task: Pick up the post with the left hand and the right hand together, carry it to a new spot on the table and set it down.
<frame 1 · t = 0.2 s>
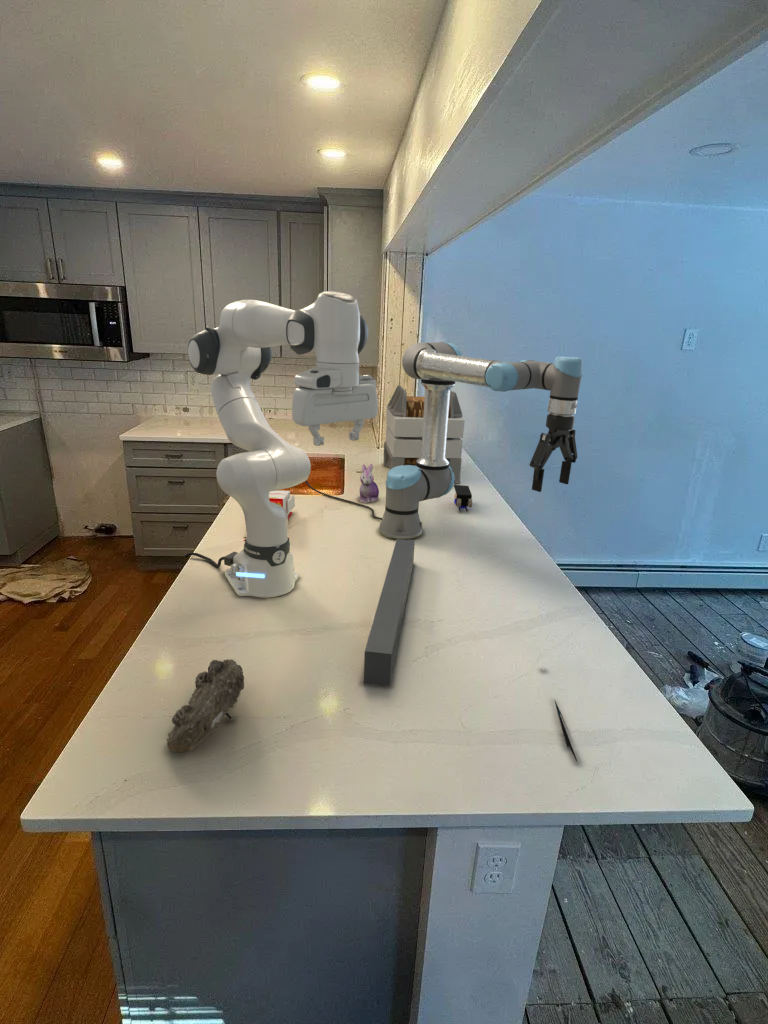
left hand: (336, 442, 121), 47 cm above the counter, tool pointing down, fingers open, 8 cm apart
right hand: (550, 486, 166), 28 cm above the counter, tool pointing down, fingers open, 13 cm apart
figurine character: (461, 507, 230), on the counter
figurine: (368, 500, 233), on the counter
post: (393, 611, 148), on the counter
fossil: (212, 717, 108), on the counter
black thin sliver: (557, 712, 114), on the counter
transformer: (419, 473, 275), on the counter
toy: (275, 523, 204), on the counter
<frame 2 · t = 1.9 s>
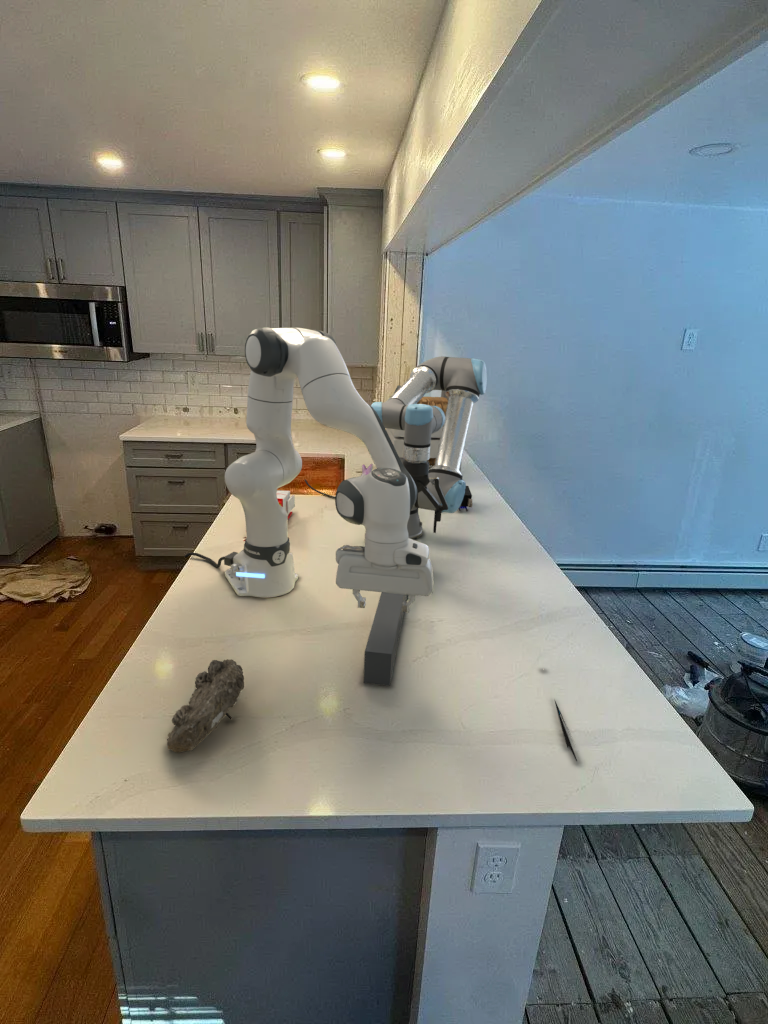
left hand: (383, 608, 120), 15 cm above the counter, tool pointing down, fingers open, 8 cm apart
right hand: (411, 529, 168), 13 cm above the counter, tool pointing down, fingers open, 13 cm apart
nothing on the counter moved.
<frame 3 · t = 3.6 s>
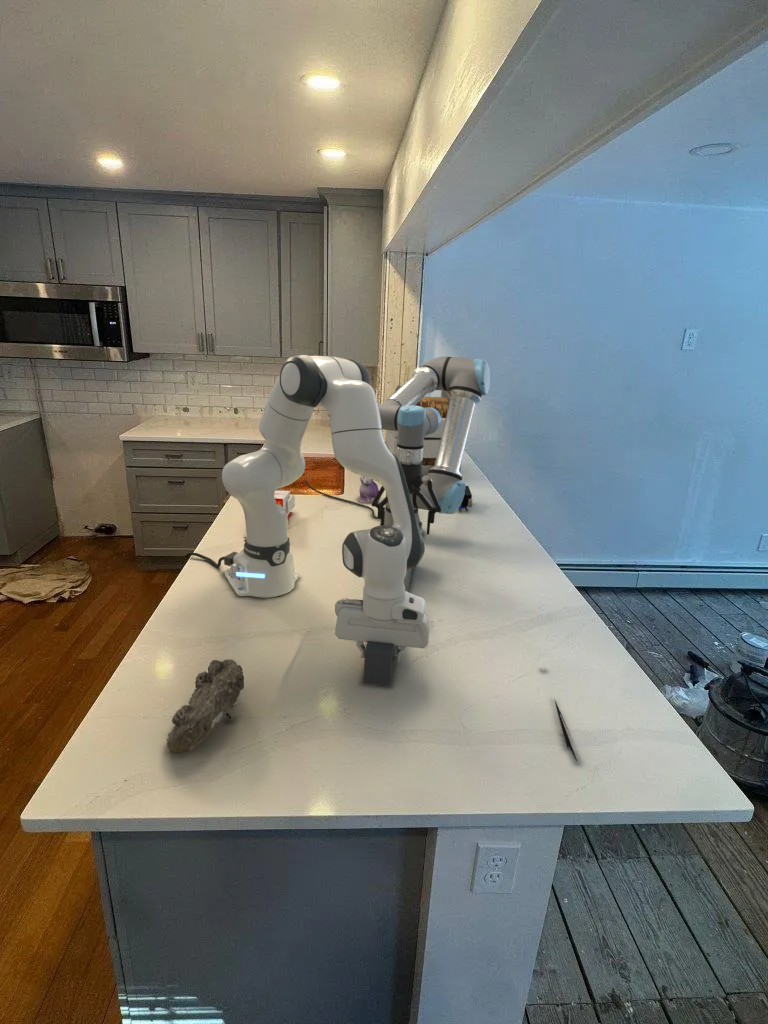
left hand: (380, 658, 124), 3 cm above the counter, tool pointing down, fingers closed on post, 5 cm apart
right hand: (405, 531, 168), 13 cm above the counter, tool pointing down, fingers open, 13 cm apart
post: (393, 611, 148), on the counter, touching left hand
everything else where it was.
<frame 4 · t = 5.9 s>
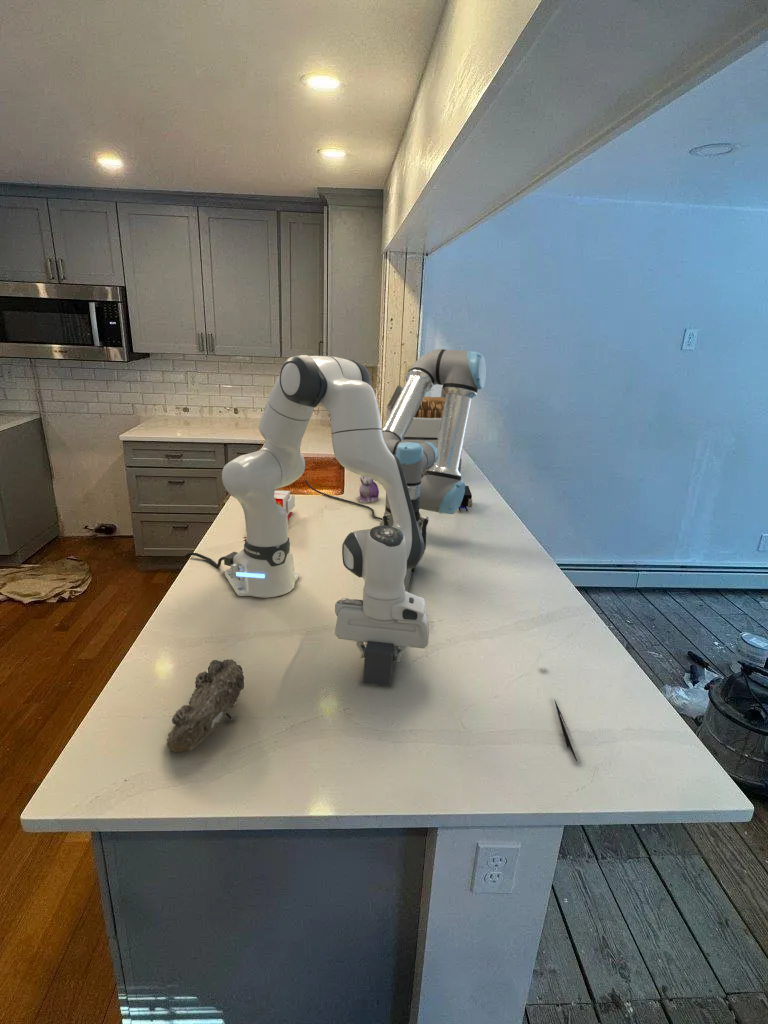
left hand: (380, 658, 124), 3 cm above the counter, tool pointing down, fingers closed on post, 5 cm apart
right hand: (402, 568, 172), 1 cm above the counter, tool pointing down, fingers closed on post, 6 cm apart
post: (393, 611, 148), on the counter, touching right hand, left hand
everything else where it was.
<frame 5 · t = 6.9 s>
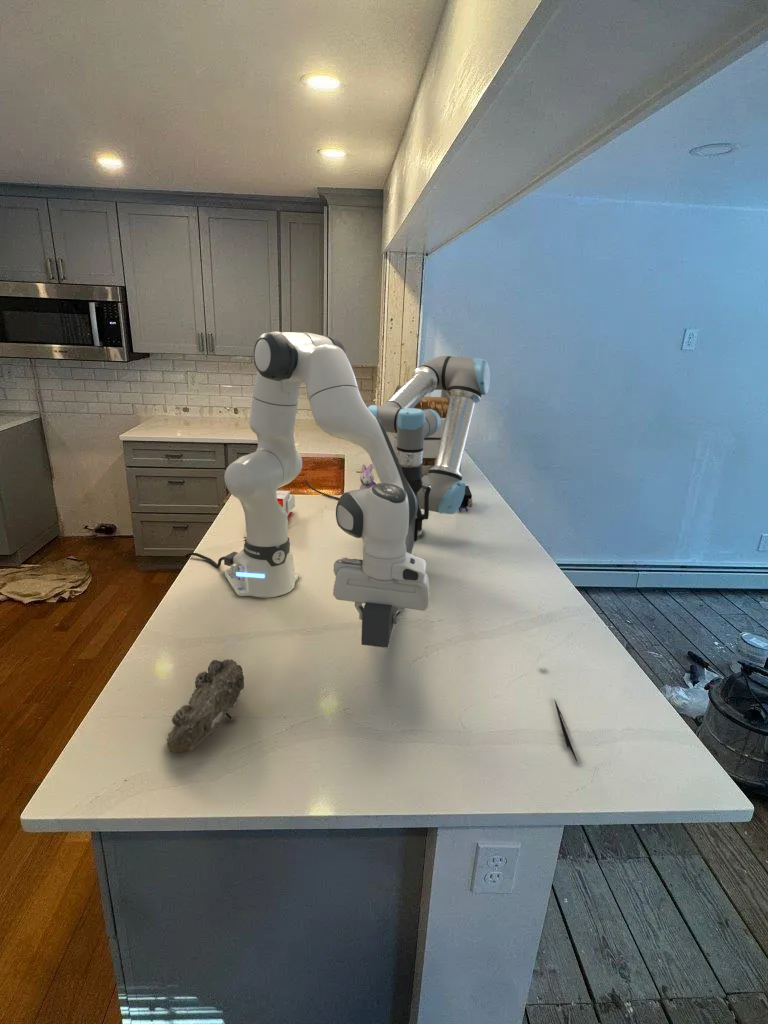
left hand: (379, 620, 121), 12 cm above the counter, tool pointing down, fingers closed on post, 5 cm apart
right hand: (405, 538, 169), 10 cm above the counter, tool pointing down, fingers closed on post, 6 cm apart
post: (394, 579, 146), point 9 cm above the counter, touching right hand, left hand
everything else where it was.
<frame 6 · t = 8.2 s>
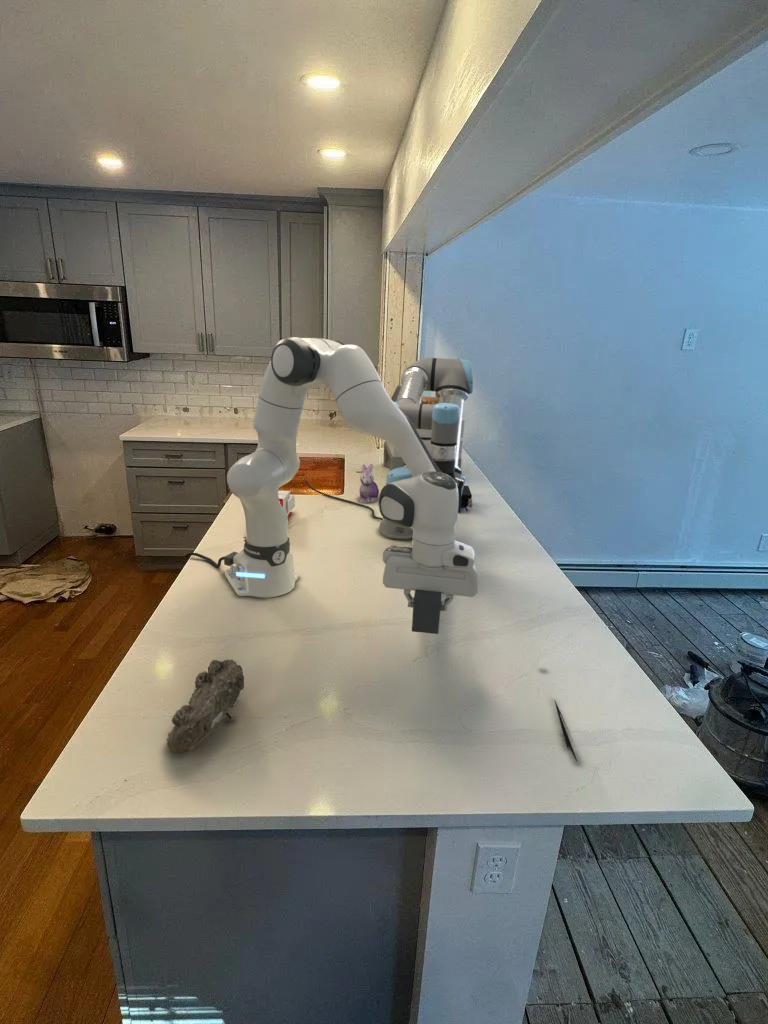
left hand: (427, 608, 123), 14 cm above the counter, tool pointing down, fingers closed on post, 5 cm apart
right hand: (436, 532, 171), 12 cm above the counter, tool pointing down, fingers closed on post, 6 cm apart
post: (432, 570, 148), point 11 cm above the counter, touching right hand, left hand
everything else where it was.
when the right hand's fingers open (2 cm above the counter, at t = 10.5 s): post drops 1 cm, on the counter.
when the left hand's fingers open (4 cm above the counter, at t = 10.7 s): post stays where it is, on the counter.
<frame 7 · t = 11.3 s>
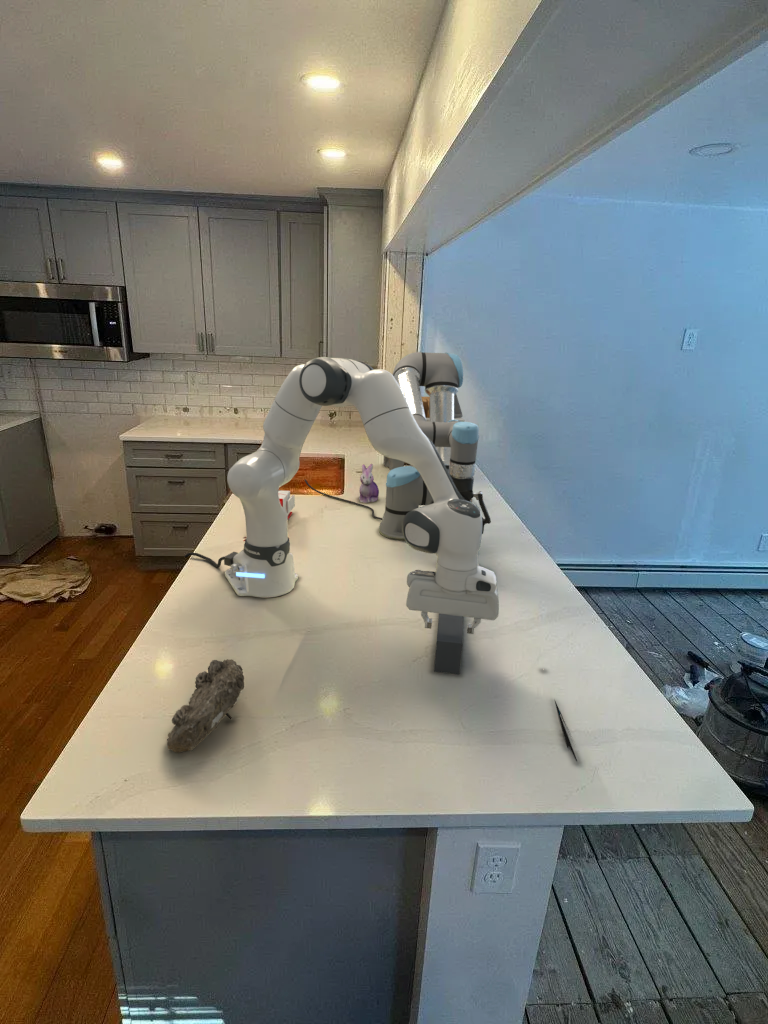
left hand: (449, 629, 127), 8 cm above the counter, tool pointing down, fingers open, 8 cm apart
right hand: (454, 541, 175), 8 cm above the counter, tool pointing down, fingers open, 13 cm apart
post: (450, 604, 153), on the counter
everything else where it was.
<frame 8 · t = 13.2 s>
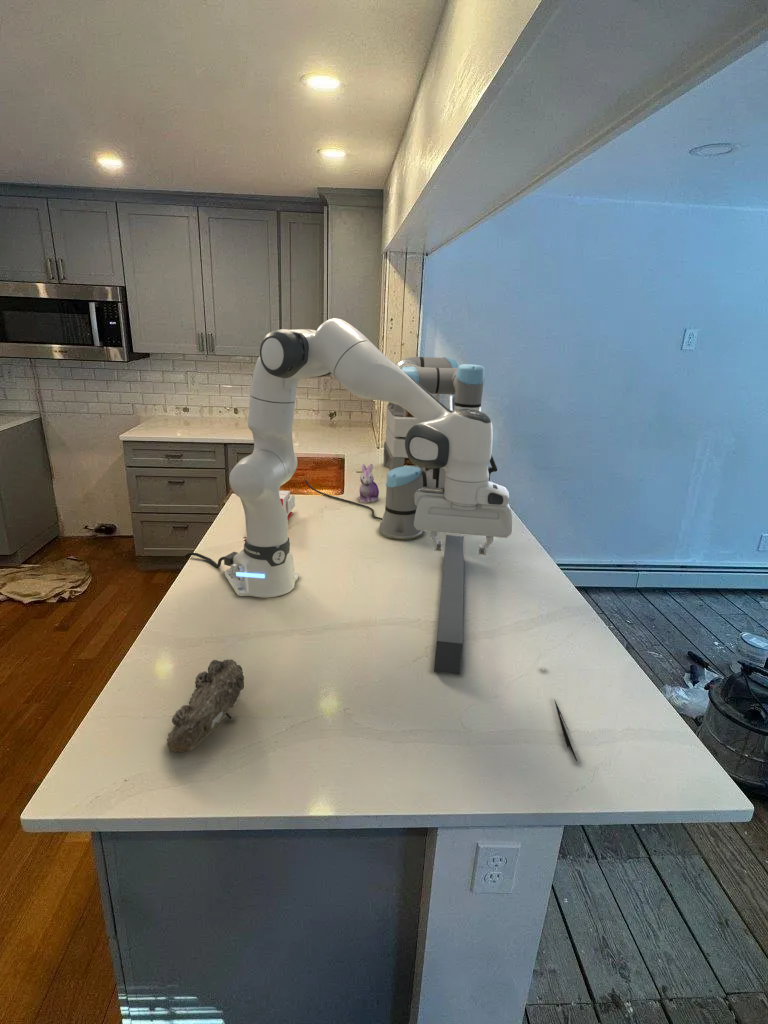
left hand: (459, 551, 120), 27 cm above the counter, tool pointing down, fingers open, 8 cm apart
right hand: (459, 491, 169), 24 cm above the counter, tool pointing down, fingers open, 13 cm apart
nothing on the counter moved.
at the end: post inside the target area (0.4 cm from its centre), on the counter; post tilted 0°; post never tilted more than 1° during the clip; both hands held the post at the same time; the left hand is holding nothing; the right hand is holding nothing; post at rest at the end (0.0 cm/s) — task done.
